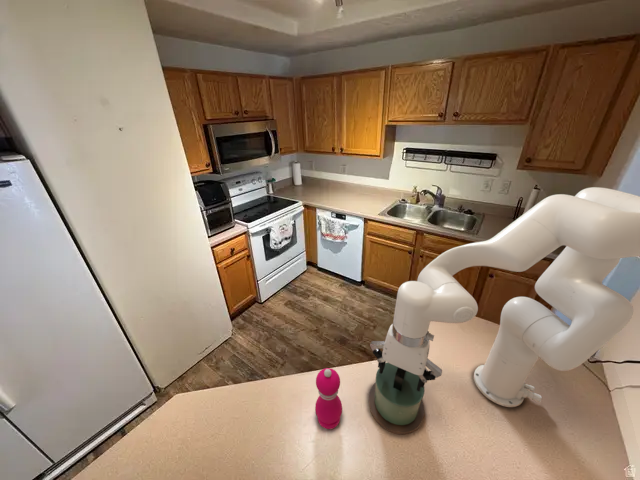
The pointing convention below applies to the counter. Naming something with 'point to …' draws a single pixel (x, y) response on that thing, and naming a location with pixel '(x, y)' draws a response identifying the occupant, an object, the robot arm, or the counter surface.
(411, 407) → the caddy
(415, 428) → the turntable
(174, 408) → the counter surface
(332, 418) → the pepper mill
